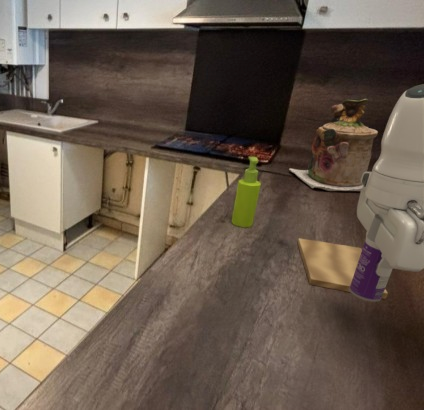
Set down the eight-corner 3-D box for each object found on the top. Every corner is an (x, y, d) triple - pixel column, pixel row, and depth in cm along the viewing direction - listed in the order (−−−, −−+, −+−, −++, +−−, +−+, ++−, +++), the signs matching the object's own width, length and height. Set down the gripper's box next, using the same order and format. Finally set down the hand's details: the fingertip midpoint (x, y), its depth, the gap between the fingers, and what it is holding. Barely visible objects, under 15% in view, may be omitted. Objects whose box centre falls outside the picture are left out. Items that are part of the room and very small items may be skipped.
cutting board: (359, 252, 92) (360, 247, 91) (385, 299, 75) (388, 293, 74) (297, 242, 97) (298, 238, 96) (309, 284, 80) (311, 278, 79)
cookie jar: (347, 172, 151) (371, 94, 138) (386, 194, 128) (419, 102, 116) (286, 171, 153) (304, 93, 140) (313, 192, 131) (338, 101, 118)
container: (343, 289, 66) (367, 215, 60) (360, 283, 67) (385, 211, 61) (369, 304, 62) (398, 227, 56) (387, 298, 63) (417, 222, 57)
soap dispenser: (250, 218, 111) (263, 155, 103) (253, 228, 104) (267, 162, 96) (230, 216, 112) (241, 154, 104) (232, 226, 106) (244, 161, 98)
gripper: (462, 220, 47) (424, 305, 52) (402, 173, 64) (378, 241, 70) (402, 213, 49) (372, 296, 54) (360, 170, 66) (340, 235, 72)
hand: (375, 264), depth 62 cm, fingers closed on container, 4 cm apart
